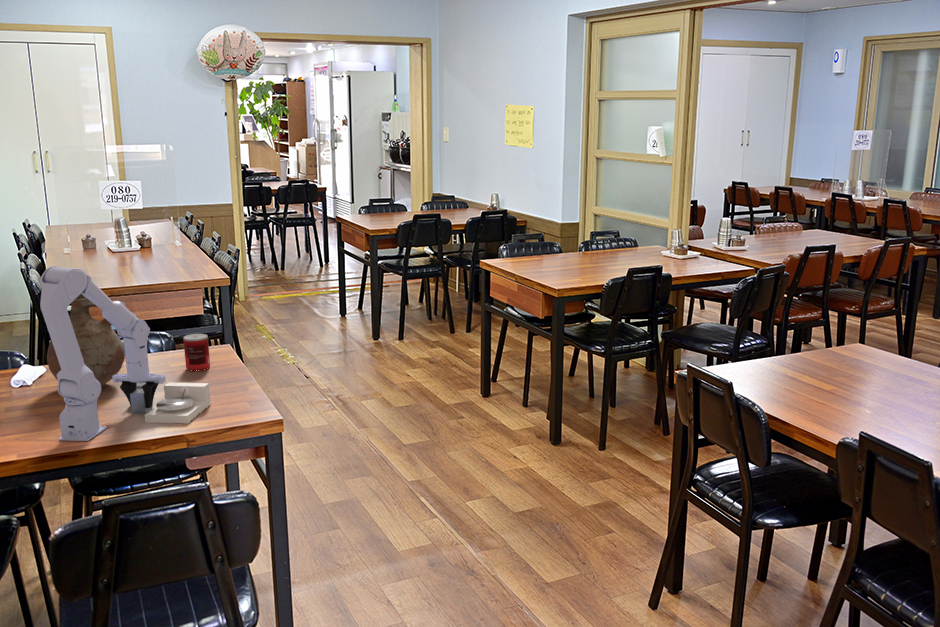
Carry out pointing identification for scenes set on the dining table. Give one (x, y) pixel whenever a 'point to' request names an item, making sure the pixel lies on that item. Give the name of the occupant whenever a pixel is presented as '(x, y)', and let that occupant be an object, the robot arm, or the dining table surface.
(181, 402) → the pan
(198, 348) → the canned food
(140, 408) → the block
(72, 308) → the jug
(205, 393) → the scale
